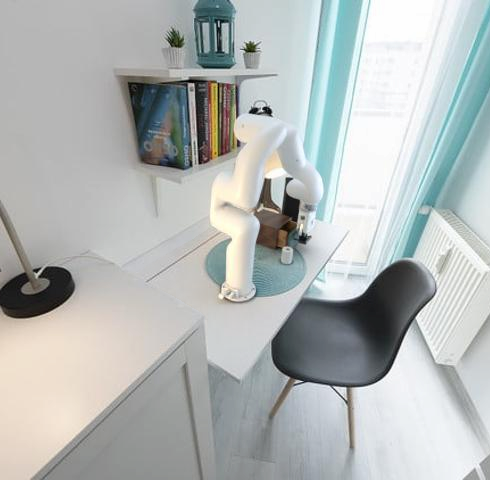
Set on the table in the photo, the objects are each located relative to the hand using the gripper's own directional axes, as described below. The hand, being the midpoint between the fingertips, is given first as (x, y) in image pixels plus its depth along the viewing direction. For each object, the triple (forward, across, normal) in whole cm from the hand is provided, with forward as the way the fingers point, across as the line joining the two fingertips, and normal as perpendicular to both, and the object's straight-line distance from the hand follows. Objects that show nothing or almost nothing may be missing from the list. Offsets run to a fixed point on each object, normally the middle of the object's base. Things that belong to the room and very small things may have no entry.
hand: (302, 242), depth 131 cm
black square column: (+4, +19, +15) cm, 25 cm away
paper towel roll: (+3, -13, +1) cm, 14 cm away
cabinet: (+4, 0, +17) cm, 18 cm away
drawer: (+3, 0, +7) cm, 8 cm away
